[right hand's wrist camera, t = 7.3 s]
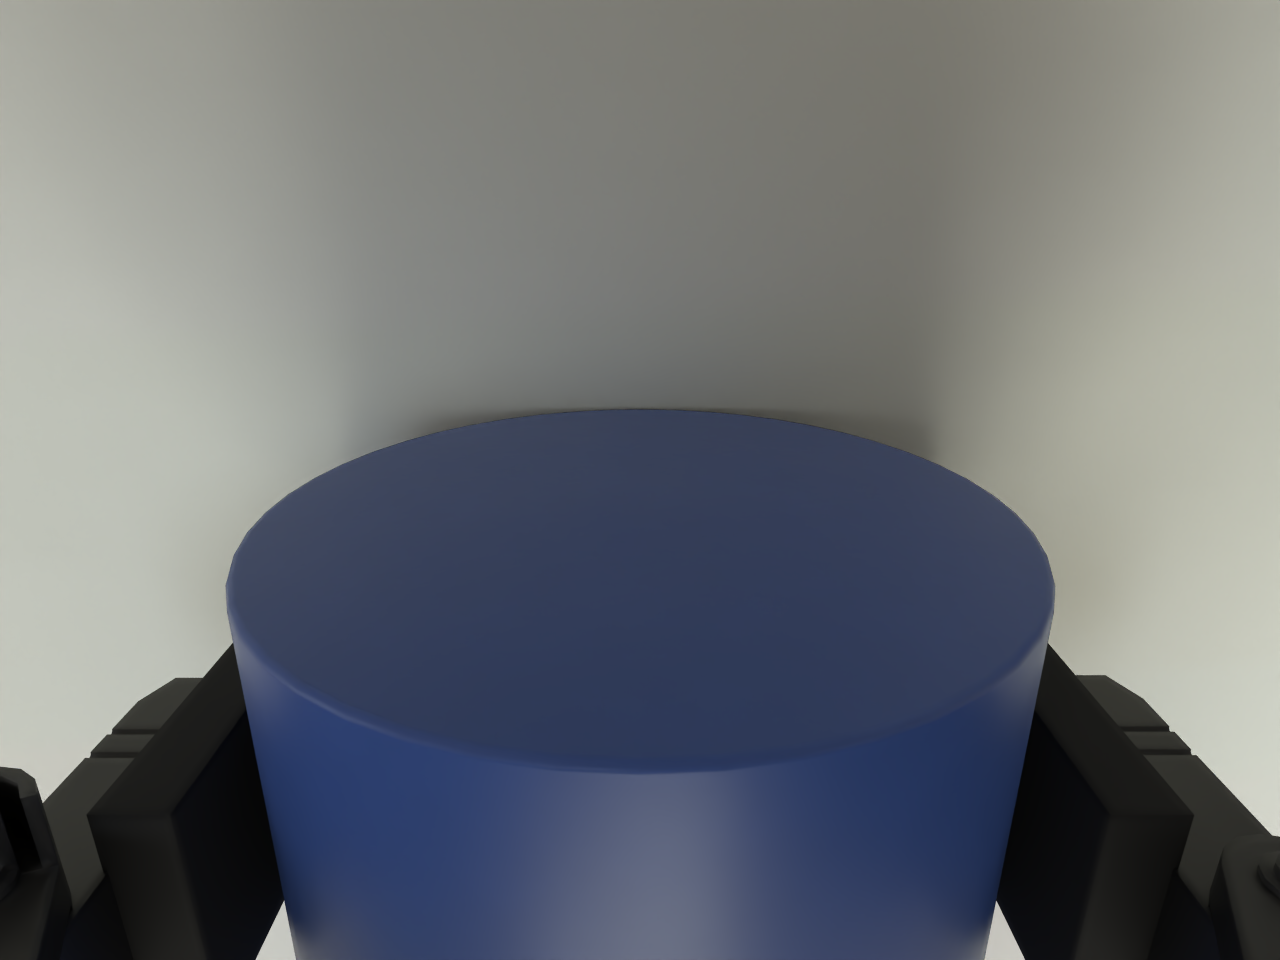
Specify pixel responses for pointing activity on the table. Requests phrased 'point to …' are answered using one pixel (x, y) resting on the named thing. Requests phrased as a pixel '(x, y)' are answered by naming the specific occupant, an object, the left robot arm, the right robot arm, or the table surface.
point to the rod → (640, 693)
